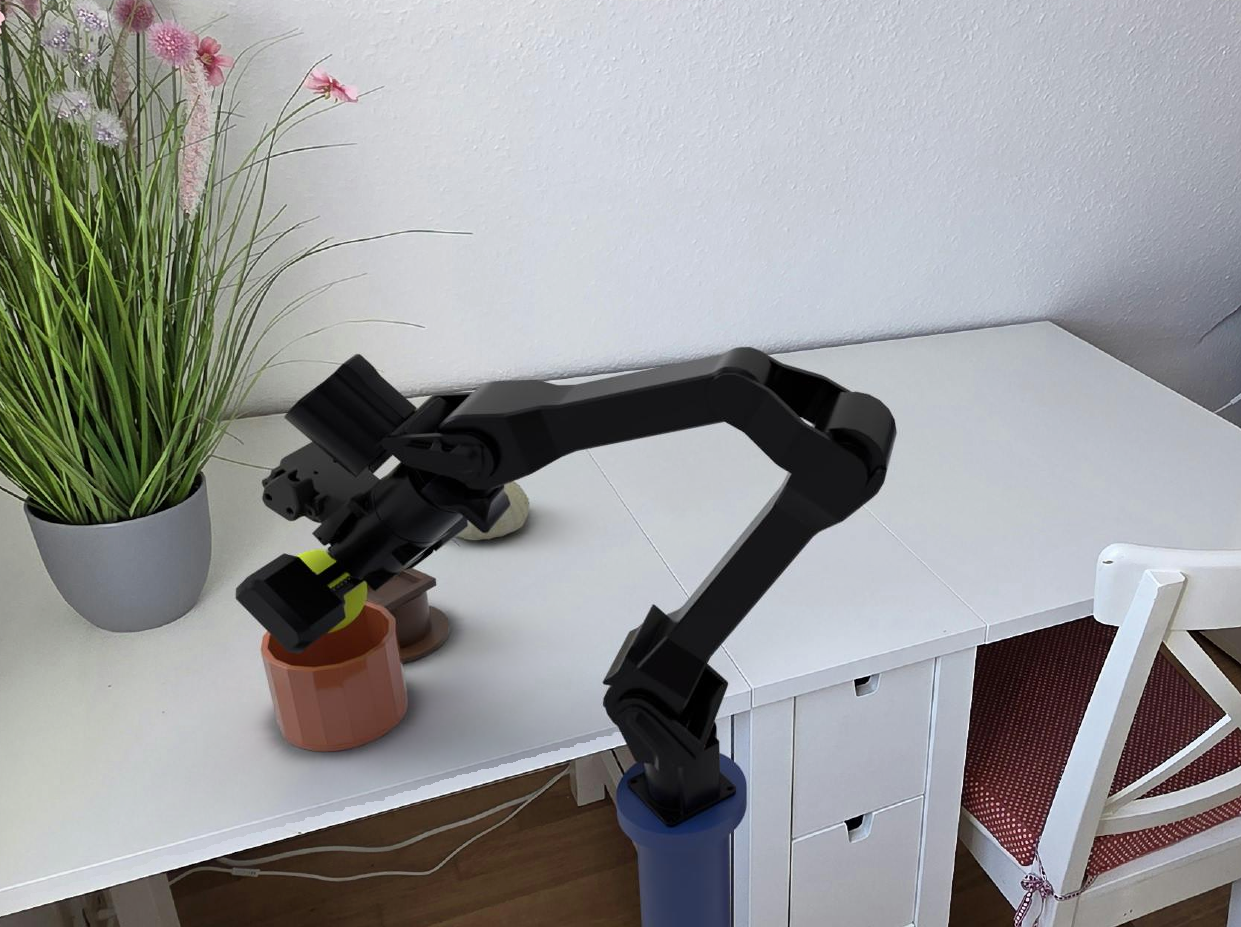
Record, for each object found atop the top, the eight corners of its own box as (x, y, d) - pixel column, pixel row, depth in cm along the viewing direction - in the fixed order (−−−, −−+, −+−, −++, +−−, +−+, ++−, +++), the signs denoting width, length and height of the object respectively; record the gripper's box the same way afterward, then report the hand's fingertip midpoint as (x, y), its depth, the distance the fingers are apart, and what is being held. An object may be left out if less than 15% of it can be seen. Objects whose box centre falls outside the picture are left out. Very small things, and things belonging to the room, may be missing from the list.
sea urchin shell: (455, 542, 122) (431, 468, 123) (444, 564, 128) (422, 494, 129) (545, 520, 127) (521, 449, 128) (531, 542, 133) (509, 475, 134)
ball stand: (471, 628, 113) (464, 575, 110) (390, 678, 106) (380, 622, 103) (402, 597, 116) (394, 545, 113) (319, 643, 109) (308, 589, 106)
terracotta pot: (427, 719, 101) (414, 640, 98) (305, 768, 95) (286, 686, 91) (380, 663, 107) (367, 587, 103) (262, 707, 101) (243, 627, 97)
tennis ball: (254, 550, 92) (328, 568, 91) (318, 534, 99) (388, 551, 97) (249, 633, 94) (322, 652, 92) (313, 612, 100) (382, 630, 99)
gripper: (417, 376, 95) (321, 474, 103) (230, 479, 80) (132, 586, 87) (515, 484, 98) (414, 573, 105) (352, 606, 82) (246, 700, 89)
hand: (309, 602), depth 96 cm, fingers closed on tennis ball, 6 cm apart
